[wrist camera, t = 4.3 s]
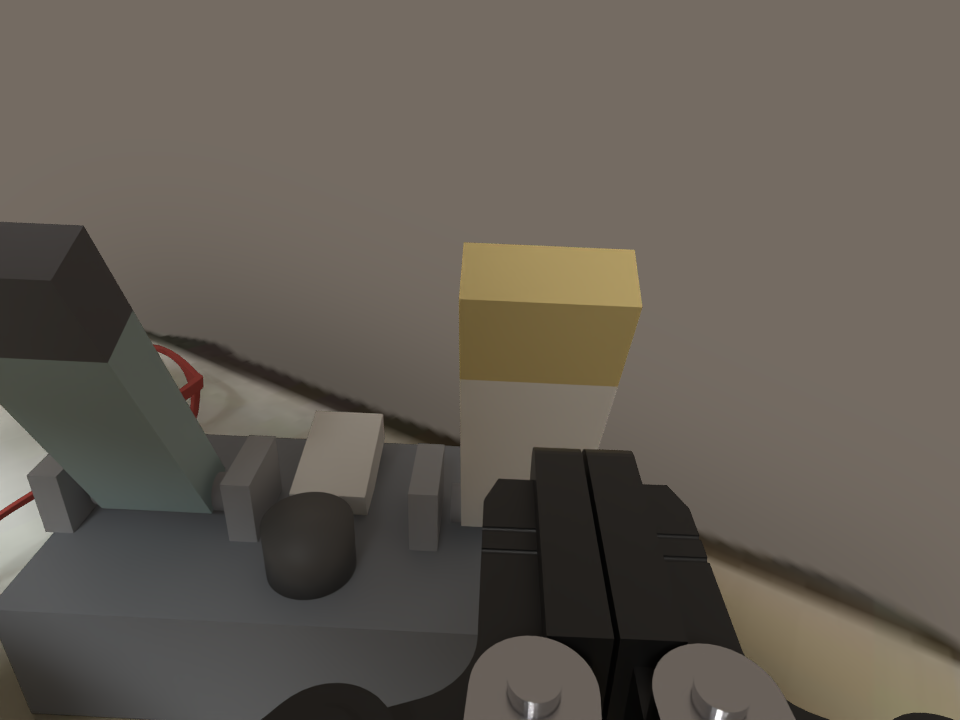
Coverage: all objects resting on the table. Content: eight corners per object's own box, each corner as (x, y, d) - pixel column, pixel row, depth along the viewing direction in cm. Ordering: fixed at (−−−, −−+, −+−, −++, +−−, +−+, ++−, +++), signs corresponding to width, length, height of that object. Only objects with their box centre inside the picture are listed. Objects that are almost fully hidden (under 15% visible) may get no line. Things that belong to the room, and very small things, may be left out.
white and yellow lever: (450, 533, 25) (440, 298, 15) (453, 488, 26) (446, 242, 16) (581, 539, 25) (660, 308, 15) (579, 494, 26) (651, 250, 16)
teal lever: (99, 515, 25) (-147, 271, 15) (117, 472, 26) (-100, 217, 16) (228, 522, 25) (68, 281, 15) (241, 478, 26) (100, 226, 16)
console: (22, 712, 23) (-48, 548, 20) (155, 518, 32) (122, 381, 29) (619, 744, 23) (653, 583, 20) (588, 540, 32) (607, 404, 29)
